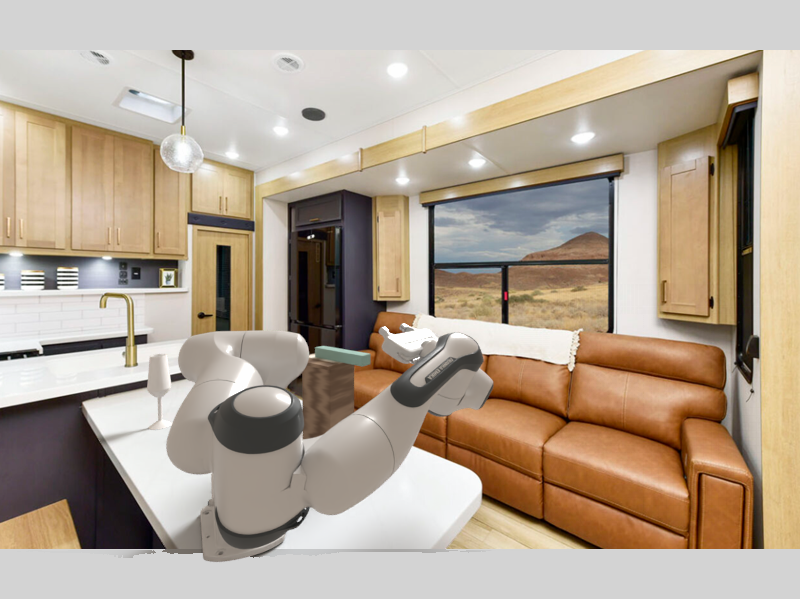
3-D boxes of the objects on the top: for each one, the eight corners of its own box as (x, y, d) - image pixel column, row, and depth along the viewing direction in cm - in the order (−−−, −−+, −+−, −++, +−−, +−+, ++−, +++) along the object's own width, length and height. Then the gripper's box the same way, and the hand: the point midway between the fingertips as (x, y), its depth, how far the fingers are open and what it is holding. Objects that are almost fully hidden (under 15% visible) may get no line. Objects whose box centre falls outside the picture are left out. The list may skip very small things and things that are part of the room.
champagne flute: (151, 422, 119) (149, 353, 118) (174, 420, 122) (172, 352, 120) (145, 431, 113) (143, 358, 112) (169, 428, 116) (167, 356, 114)
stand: (360, 439, 109) (361, 356, 108) (327, 457, 98) (327, 366, 96) (326, 427, 118) (326, 350, 116) (293, 443, 106) (292, 358, 105)
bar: (370, 364, 99) (370, 353, 99) (362, 366, 96) (362, 355, 96) (323, 355, 110) (323, 345, 110) (315, 357, 107) (315, 347, 107)
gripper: (404, 376, 78) (362, 342, 84) (445, 360, 95) (407, 333, 101) (416, 353, 76) (371, 320, 82) (455, 341, 93) (415, 314, 99)
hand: (391, 327), depth 92 cm, fingers open, 8 cm apart
